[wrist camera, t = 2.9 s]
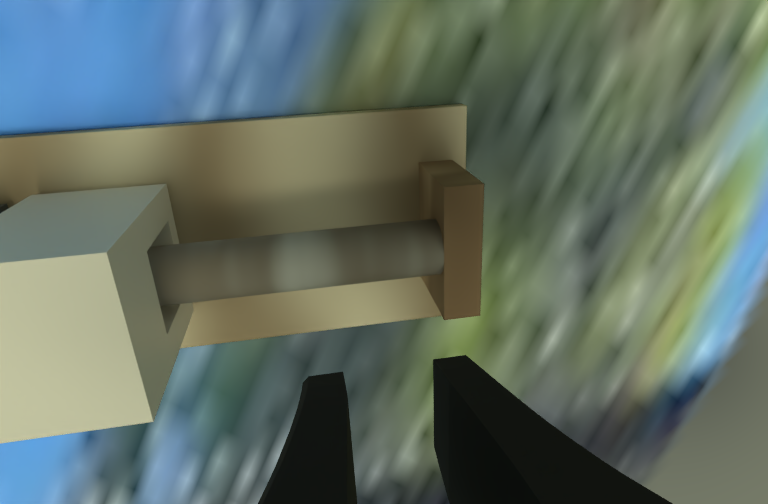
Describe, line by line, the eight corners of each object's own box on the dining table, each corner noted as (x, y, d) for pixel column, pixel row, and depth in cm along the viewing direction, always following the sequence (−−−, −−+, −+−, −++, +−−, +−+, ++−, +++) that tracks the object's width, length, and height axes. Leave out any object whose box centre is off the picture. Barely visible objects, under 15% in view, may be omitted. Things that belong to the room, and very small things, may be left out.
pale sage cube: (166, 183, 16) (106, 252, 11) (193, 310, 18) (153, 421, 13) (30, 194, 16) (-100, 272, 11) (73, 324, 18) (-21, 446, 12)
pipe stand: (461, 103, 18) (505, 120, 14) (459, 305, 21) (494, 362, 17) (-604, 177, 14) (-925, 227, 10) (-414, 412, 17) (-608, 515, 13)
